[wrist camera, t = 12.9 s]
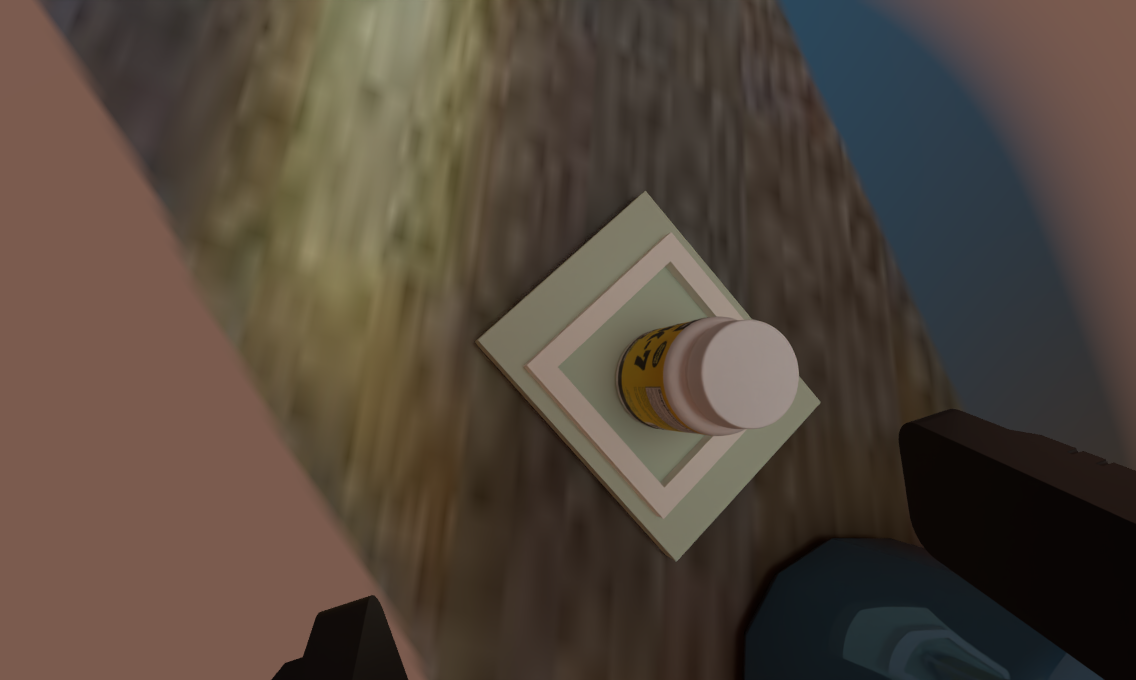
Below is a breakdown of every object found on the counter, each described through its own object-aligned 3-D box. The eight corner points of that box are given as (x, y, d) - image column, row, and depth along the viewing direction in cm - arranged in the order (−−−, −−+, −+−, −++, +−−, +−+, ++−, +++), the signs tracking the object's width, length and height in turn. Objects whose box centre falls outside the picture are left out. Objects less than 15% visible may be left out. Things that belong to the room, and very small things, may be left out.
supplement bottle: (668, 310, 33) (763, 282, 25) (722, 388, 33) (833, 386, 25) (593, 369, 31) (667, 360, 23) (650, 449, 32) (743, 467, 24)
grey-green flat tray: (474, 341, 31) (480, 338, 29) (636, 197, 34) (651, 185, 32) (666, 555, 33) (683, 565, 31) (806, 402, 36) (830, 402, 34)
